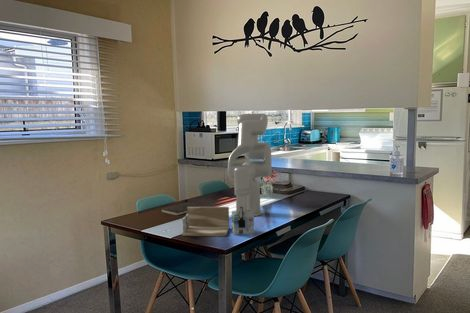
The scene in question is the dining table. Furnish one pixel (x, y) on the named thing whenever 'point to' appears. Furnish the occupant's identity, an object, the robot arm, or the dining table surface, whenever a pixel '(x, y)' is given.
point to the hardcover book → (180, 208)
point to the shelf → (206, 221)
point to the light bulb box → (248, 223)
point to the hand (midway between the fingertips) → (242, 224)
